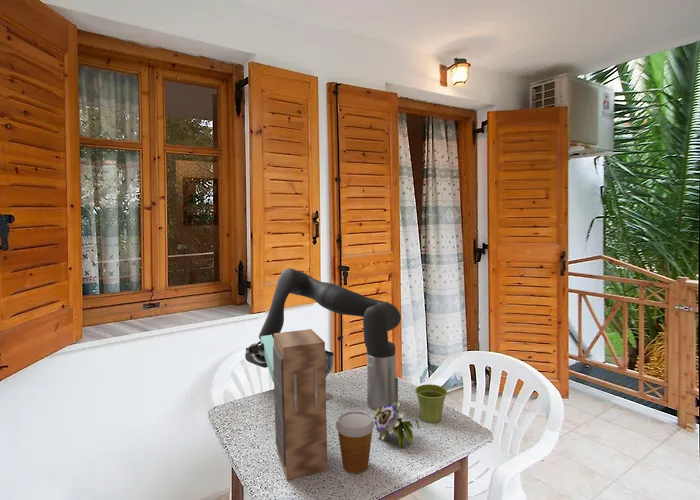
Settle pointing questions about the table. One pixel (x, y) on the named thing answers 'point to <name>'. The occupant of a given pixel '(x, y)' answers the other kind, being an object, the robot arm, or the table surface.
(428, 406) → the plant pot
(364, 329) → the robot arm
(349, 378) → the table surface
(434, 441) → the table surface
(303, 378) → the tall wooden pillar block
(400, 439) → the passion flower
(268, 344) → the rail
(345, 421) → the disposable coffee cup
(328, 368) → the wine glass
